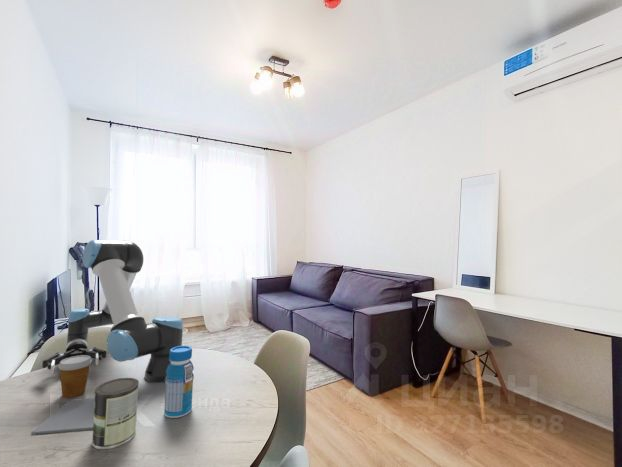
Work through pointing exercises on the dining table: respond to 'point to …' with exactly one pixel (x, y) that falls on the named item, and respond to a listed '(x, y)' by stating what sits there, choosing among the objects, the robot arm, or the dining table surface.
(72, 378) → the disposable coffee cup
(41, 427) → the mat
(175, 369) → the beverage bottle
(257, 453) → the dining table surface
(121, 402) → the coffee can
